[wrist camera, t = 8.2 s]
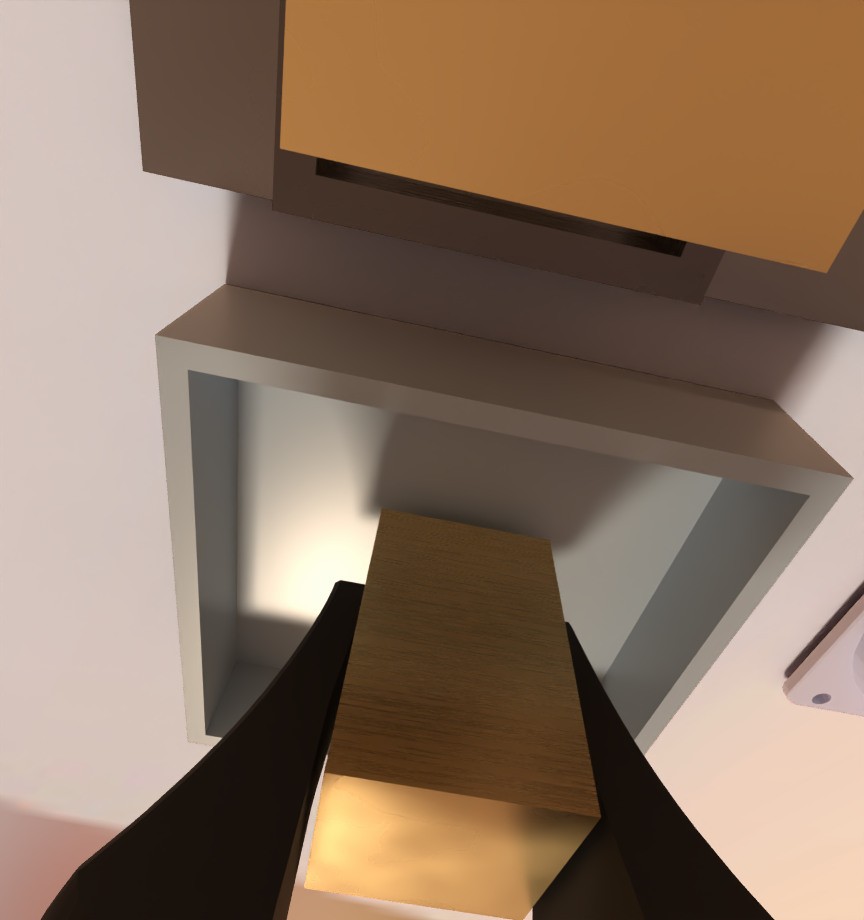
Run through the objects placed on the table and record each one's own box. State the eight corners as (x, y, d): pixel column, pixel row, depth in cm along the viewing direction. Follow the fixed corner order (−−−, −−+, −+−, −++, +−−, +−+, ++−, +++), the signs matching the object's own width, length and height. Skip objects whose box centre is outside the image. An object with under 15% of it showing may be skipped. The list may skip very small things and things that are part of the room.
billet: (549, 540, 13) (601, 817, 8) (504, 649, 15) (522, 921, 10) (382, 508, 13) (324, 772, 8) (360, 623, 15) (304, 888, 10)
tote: (773, 400, 12) (853, 477, 10) (584, 713, 19) (603, 809, 16) (224, 283, 11) (155, 335, 9) (227, 652, 18) (187, 742, 15)
